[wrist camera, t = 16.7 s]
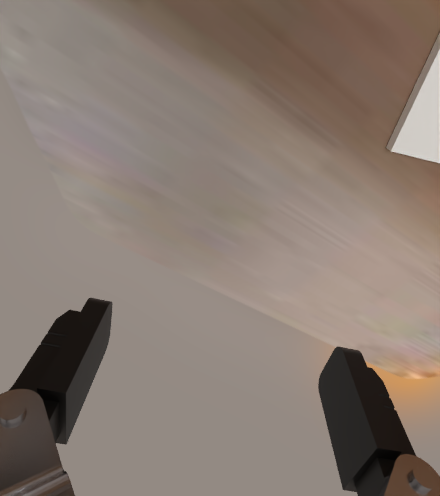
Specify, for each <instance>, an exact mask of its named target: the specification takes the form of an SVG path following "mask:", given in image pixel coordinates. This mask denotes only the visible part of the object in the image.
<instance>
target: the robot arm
mask: <svg viewBox="0 0 440 496" xmlns="http://www.w3.org/2000/svg"><path fill="white" fill-rule="evenodd" d="M111 316H112V302H110V301H104V300H99V299H94V298H89V299H88V300H87V302H86V304H85V305H84V307H83V309H82V311H81V312H78V311H73V310H69V311H67V312H66V313H64V314H63V315H62V316H60V317H59V318H57V319H56V320H55V322H54V323H53V325H52V327H51V328H50V330H49V331H48V334H47V335H46V336H45V337H44V339H43V340H42V342H41V345H39V347H38V348H37V350H36V351H35V353H34V354H33V356H32V357H31V359H30V360H29V362H28V363H27V365H26V366H25V368H24V370H23V371H22V373H21V374H20V376H19V377H18V379H17V380H16V382H15V383H14V385H13V386H12V387H11V389H10V390H9V391H7V392H5V393H2V394H0V496H75V495H74V491H73V488H72V485H71V482H70V479H69V476H68V474H67V472H66V471H64V470H63V467H62V464H61V461H60V457H59V454H58V450H57V447H56V443H60V444H67V441H68V439H69V437H70V434H71V432H72V430H73V427H74V425H75V423H76V420H77V418H78V416H79V413H80V411H81V408H82V406H83V403H84V401H85V399H86V396H87V394H88V392H89V389H90V387H91V385H92V382H93V380H94V377H95V375H96V373H97V370H98V368H99V365H100V363H101V361H102V359H103V356H104V354H105V351H106V348H107V345H108V342H109V336H110V327H111ZM319 393H320V398H321V402H322V406H323V410H324V414H325V418H326V422H327V426H328V430H329V434H330V439H331V443H332V447H333V451H334V455H335V459H336V463H337V467H338V471H339V475H340V479H341V483H342V487H343V490H348V491H354V492H357V494H358V496H440V476H439V475H438V474H437V473H436V471H435V470H434V469H433V468H432V467H431V466H430V465H429V464H428V463H426V462H425V461H423V460H422V459H420V458H418V457H417V456H416V455H415V453H414V450H413V448H412V446H411V443H410V441H409V439H408V437H407V435H406V432H405V430H404V428H403V425H402V423H401V421H400V419H399V416H398V414H397V412H396V410H394V405H393V403H392V401H391V399H390V398H389V394H388V392H387V389H386V387H385V385H384V383H383V381H382V380H381V378H380V377H379V376H378V375H377V374H376V372H375V371H374V370H373V369H372V368H368V367H367V365H366V363H365V360H364V358H363V356H362V354H361V352H360V351H358V350H353V349H348V348H343V347H336V348H335V349H334V351H333V353H332V355H331V356H330V358H329V360H328V362H327V364H326V365H325V367H324V369H323V371H322V373H321V375H320V378H319Z"/></svg>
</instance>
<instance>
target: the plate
mask: <svg viewBox="0 0 440 496" xmlns="http://www.w3.org/2000/svg"><path fill="white" fill-rule="evenodd" d="M386 148H387V149H388V150H390V151H392V152H396V153H400V154H404V155H408V156H412V157H416V158H420V159H424V160H429V161H433V162H437V163H440V33H439V35H438V37H437V39H436V42H435V44H434V46H433V48H432V50H431V52H430V54H429V57H428V59H427V61H426V63H425V65H424V67H423V69H422V71H421V74H420V76H419V78H418V80H417V82H416V84H415V86H414V89H413V91H412V93H411V95H410V97H409V99H408V101H407V104H406V106H405V108H404V110H403V112H402V114H401V116H400V119H399V121H398V123H397V125H396V127H395V129H394V131H393V134H392V136H391V138H390V140H389V142H388V144H387V146H386Z"/></svg>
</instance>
